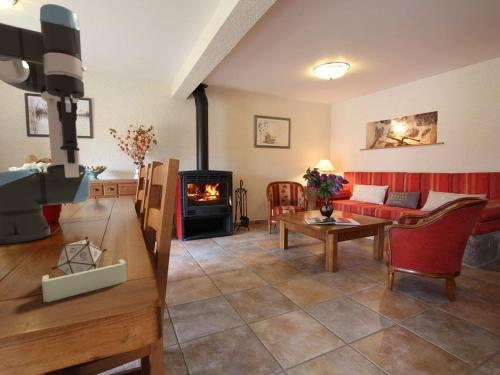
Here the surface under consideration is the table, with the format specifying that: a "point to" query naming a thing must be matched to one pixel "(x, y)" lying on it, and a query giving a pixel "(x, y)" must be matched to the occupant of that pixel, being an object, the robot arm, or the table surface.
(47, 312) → the table surface
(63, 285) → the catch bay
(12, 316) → the table surface
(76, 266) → the game die
